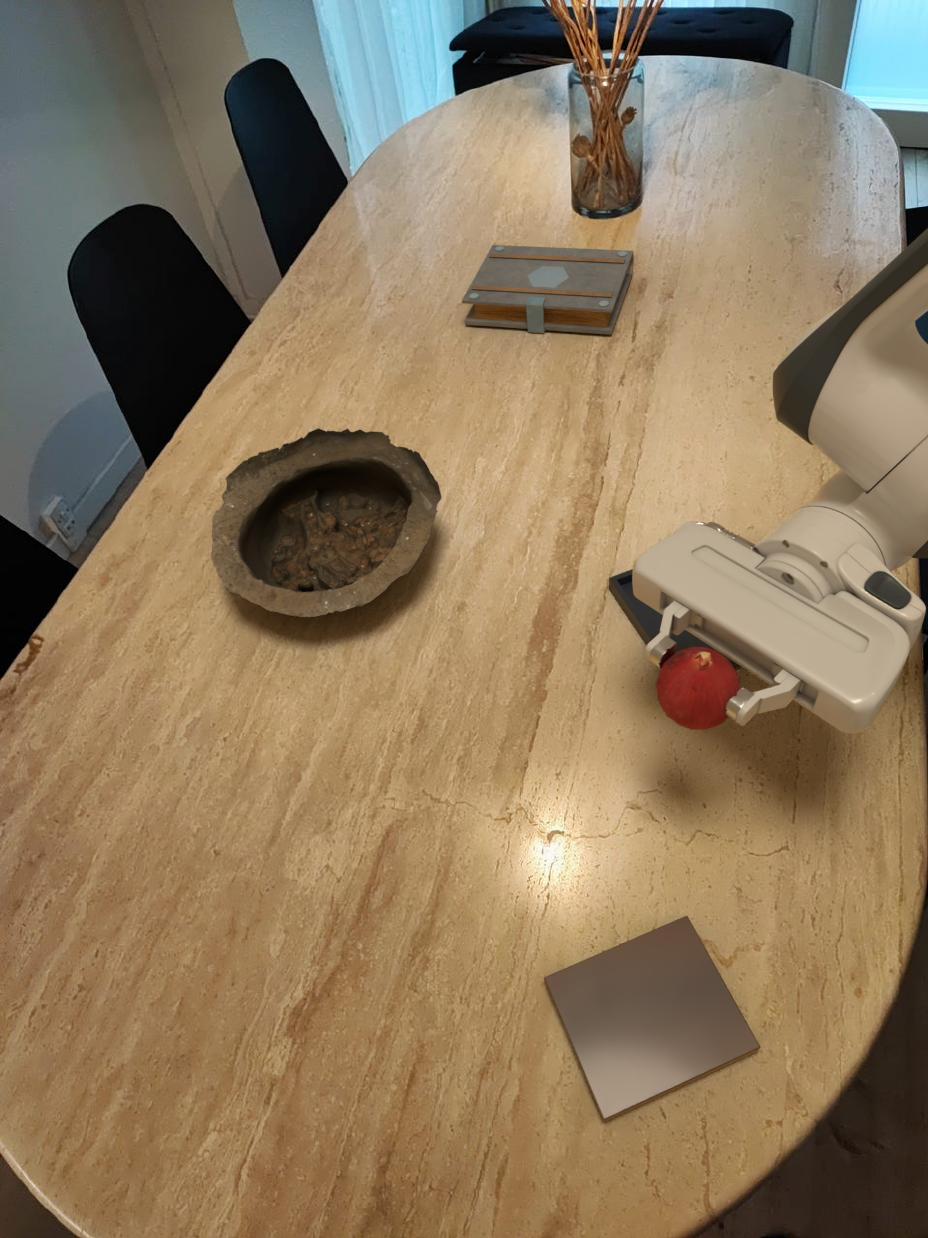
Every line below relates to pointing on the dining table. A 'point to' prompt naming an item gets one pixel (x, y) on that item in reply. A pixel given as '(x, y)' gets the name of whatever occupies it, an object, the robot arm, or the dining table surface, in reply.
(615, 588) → the tray
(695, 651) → the onion
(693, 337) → the dining table surface
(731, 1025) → the board
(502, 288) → the book
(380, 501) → the stone bowl
